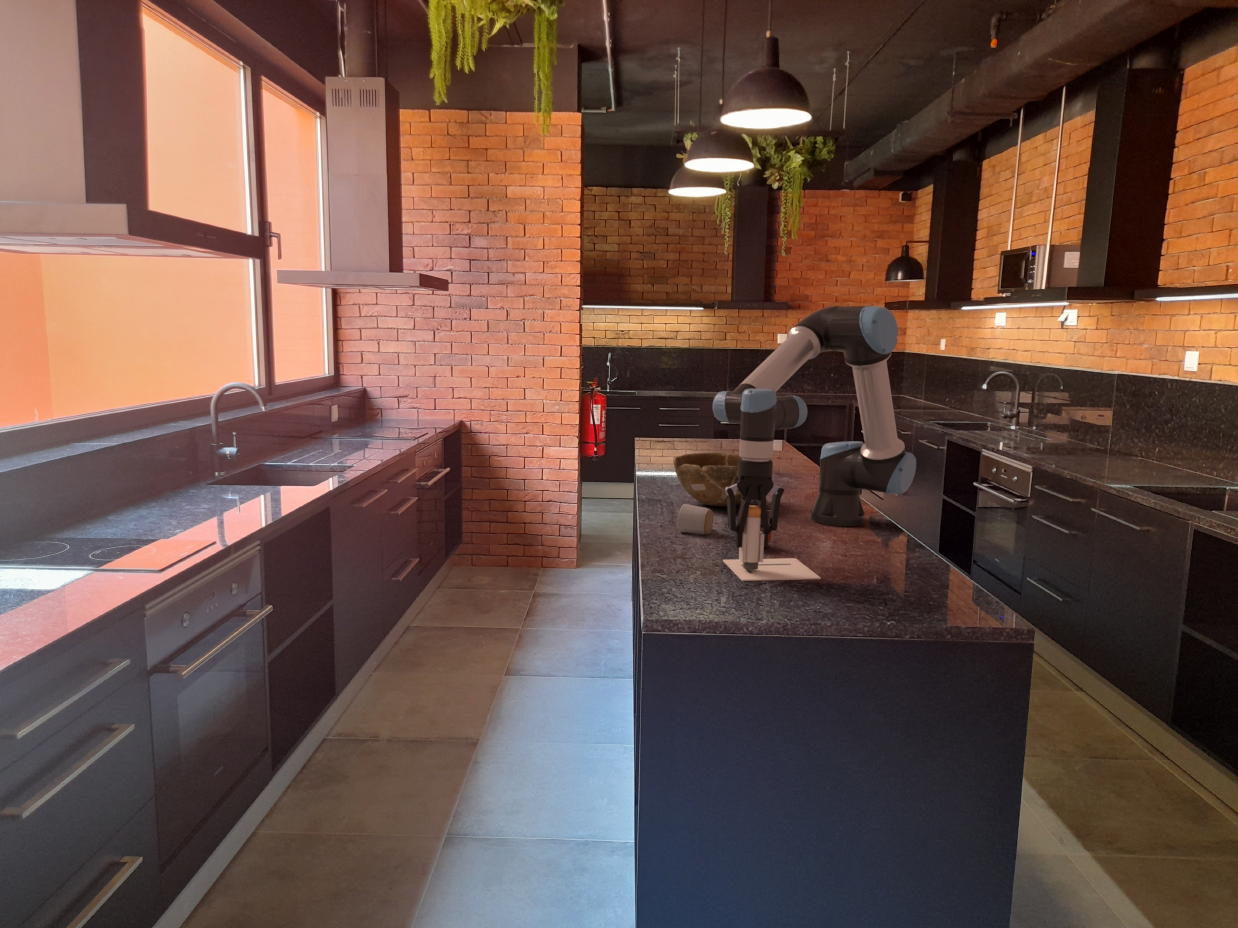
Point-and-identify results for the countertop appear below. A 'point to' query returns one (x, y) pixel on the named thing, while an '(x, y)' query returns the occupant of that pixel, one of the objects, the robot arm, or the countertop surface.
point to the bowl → (708, 476)
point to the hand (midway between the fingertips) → (750, 560)
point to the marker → (752, 537)
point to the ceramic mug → (695, 519)
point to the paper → (772, 570)
